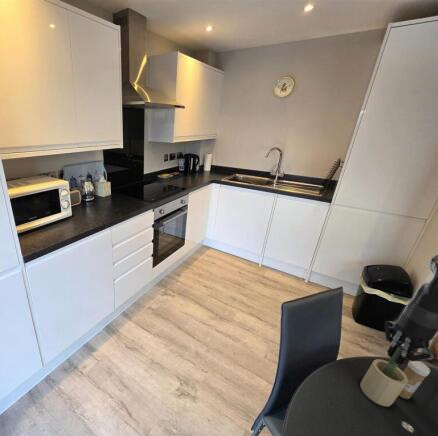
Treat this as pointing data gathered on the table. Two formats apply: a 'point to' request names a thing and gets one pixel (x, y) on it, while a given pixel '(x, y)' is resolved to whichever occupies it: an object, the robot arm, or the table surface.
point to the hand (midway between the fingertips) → (395, 359)
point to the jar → (383, 383)
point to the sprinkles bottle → (414, 377)
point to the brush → (392, 362)
